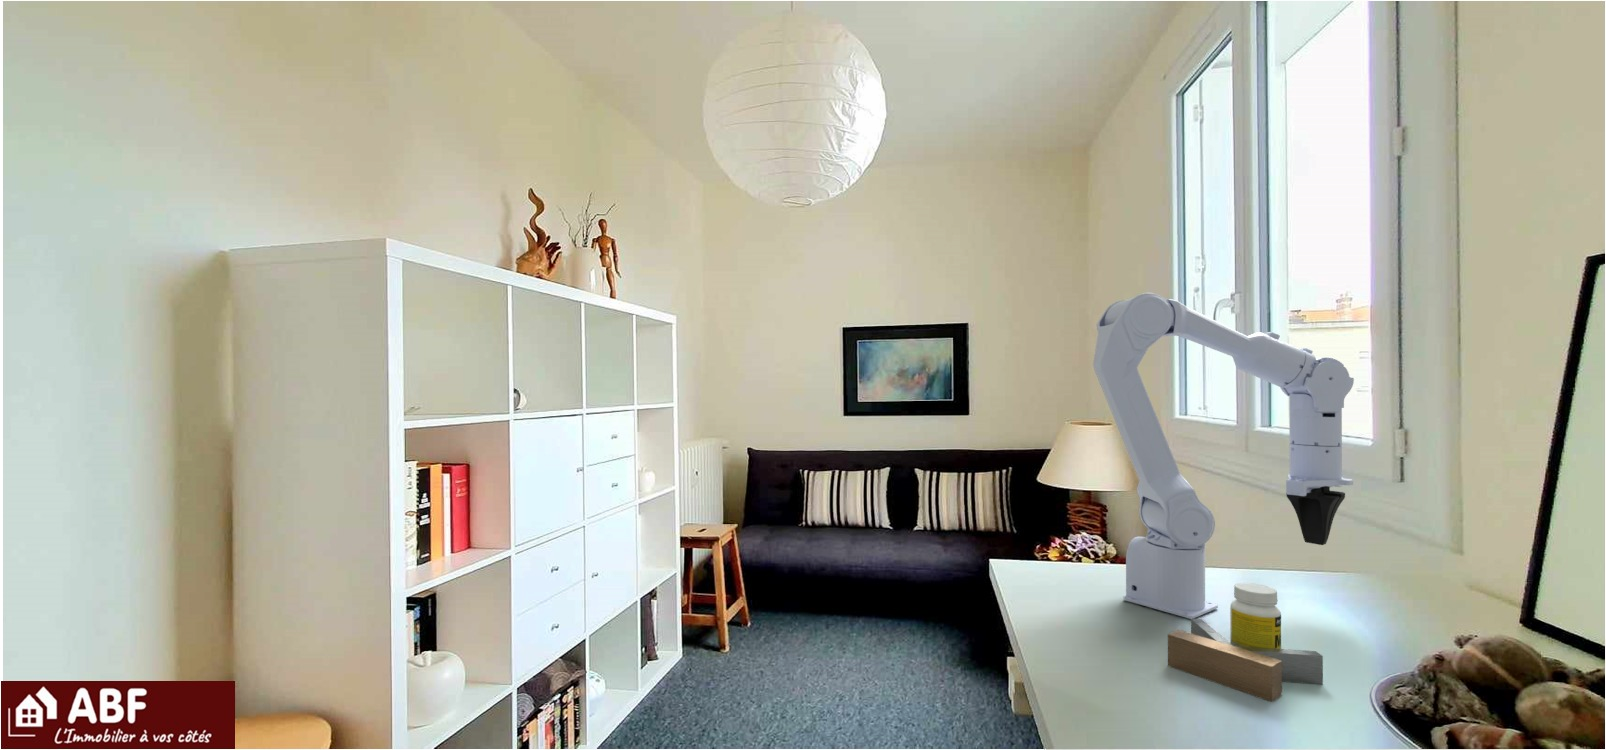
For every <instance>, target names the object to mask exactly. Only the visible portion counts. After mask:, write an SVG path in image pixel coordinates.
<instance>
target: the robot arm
mask: <svg viewBox="0 0 1606 750" xmlns="http://www.w3.org/2000/svg"><path fill="white" fill-rule="evenodd" d="M1096 330H1097V339H1096V345H1095V349H1094V357H1093V363H1092V364H1093V365H1092V366H1093V369H1094V373H1095V375H1096V378H1097V380H1098V382H1099V385H1100V388H1101V390H1102V392H1103V394H1104V398H1105V400H1106V402H1107V404H1108V407H1109V409H1110V411H1111V415H1112V417H1113V419H1114V422H1115V424H1116V427H1117V430H1118V432H1119V434H1120V436H1121V439H1122V441H1123V443H1124V446H1125V449H1126V451H1127V453H1128V456H1129V458H1130V462H1131V463H1132V465H1133V468H1134V470H1135V472H1136V475H1137V478H1138V483H1137V487H1136V493H1137V494H1138V497H1139V509H1138V510H1139V511H1138V513H1139V517H1140V519H1141V522H1142V524H1143V525H1144V526H1145V527H1146V528H1147V532H1146V535H1145V536H1146V537H1145V536H1135V537H1133V538H1132V539H1131V540H1130V542H1129V543H1128V547H1127V550H1126V552H1125V553H1126V555H1125V595H1124V596H1122V598H1123V600H1124V601H1127V602H1129V603H1133V604H1136V605H1141V606H1145V607H1147V608H1150V609H1154V610H1158V611H1161V612H1165V613H1168V614H1172V615H1176V616H1179V617H1183V618H1186V619H1189V620H1191V619H1197V618H1198V617H1200V616H1202V615H1205V614H1208V613H1209V612H1212V611H1213V610H1217V609H1218V608H1219V605H1218V604H1217V603H1214V602H1211V601H1210V602H1209V601H1206V543H1208V542H1209V541H1210V539H1211V538H1212V537H1213V535H1214V533H1215V527H1216V521H1215V517H1214V514H1213V513H1212V512H1211V510H1210V509H1209V508H1208V506H1206V505H1205V504H1204V503H1203V502H1201V500H1200V499H1199V497H1198V495H1197V493H1196V491H1195V489H1194V488H1193V487H1192V484H1190V483H1189V482H1188V481H1187V480H1186V478H1185V477H1184V476H1183V475H1182V474H1181V472H1180V469H1179V467H1178V465H1177V463H1176V460H1175V458H1174V455H1173V453H1172V450H1171V447H1170V445H1169V444H1168V441H1167V438H1166V436H1165V434H1164V431H1163V429H1162V427H1161V423H1160V422H1159V419H1158V417H1157V414H1156V412H1155V410H1154V406H1153V404H1152V402H1151V399H1150V397H1149V394H1148V392H1147V389H1146V387H1145V385H1144V382H1143V380H1142V378H1141V375H1140V373H1139V370H1138V367H1139V365H1140V363H1141V361H1142V360H1143V358H1144V356H1145V355H1146V353H1147V351H1148V350H1149V348H1150V347H1152V345H1154V344H1156V342H1157V341H1158V340H1160V339H1161V338H1163V337H1173V336H1175V337H1179V338H1182V339H1186V340H1187V341H1191V342H1193V343H1195V344H1196V343H1197V344H1199V345H1201V346H1204V347H1206V348H1209V349H1211V350H1214V351H1217V352H1220V353H1223V354H1225V355H1227V356H1230V357H1232V359H1233V362H1234V365H1235V367H1236V368H1237V369H1238V370H1240V371H1243V372H1244V373H1246V374H1249V375H1251V376H1254V377H1255V378H1259V379H1261V380H1264V381H1265V382H1268V383H1271V384H1272V385H1275V386H1277V387H1278V388H1280V389H1281V391H1282V392H1283V393H1284V395H1286V396H1287V397H1289V398H1288V399H1289V401H1288V402H1289V404H1288V405H1289V407H1288V408H1289V409H1288V410H1289V414H1288V415H1289V418H1288V419H1289V445H1288V446H1289V447H1288V448H1289V451H1288V452H1289V453H1288V454H1289V473H1288V474H1287V479H1286V480H1285V487H1286V488H1285V489H1286V490H1285V495H1286V498H1287V499H1288V501H1289V502H1290V504H1291V506H1292V507H1293V509H1294V512H1295V513H1296V516H1297V519H1298V523H1299V528H1300V530H1301V535H1302V538H1303V540H1304V542H1305V543H1308V544H1311V545H1312V544H1314V545H1319V546H1324V545H1326V544H1327V542H1328V540H1329V537H1330V536H1329V535H1330V532H1331V529H1332V525H1333V520H1334V518H1335V516H1336V513H1337V511H1338V509H1339V508H1340V506H1341V504H1342V503H1343V501H1344V499H1345V498H1346V492H1343V491H1337V490H1331V489H1330V488H1333V487H1337V488H1341V487H1343V486H1352V485H1354V480H1353V479H1352V478H1344V477H1343V454H1342V453H1343V452H1342V451H1343V447H1342V446H1343V431H1342V430H1343V420H1342V419H1343V418H1342V417H1343V411H1342V410H1343V408H1345V398H1346V396H1347V395H1348V394H1349V393H1350V392H1351V390H1352V388H1353V387H1354V382H1355V381H1354V380H1355V379H1354V377H1351V376H1350V374H1349V373H1350V372H1349V371H1348V369H1347V367H1345V365H1344V363H1342V362H1341V361H1340V360H1338V359H1335V358H1332V357H1315V354H1313V352H1314V351H1313V350H1312V349H1309V348H1308V347H1303V348H1298V347H1297V346H1294V345H1292V344H1289V343H1287V342H1285V341H1282V340H1280V339H1279V338H1280V334H1278V333H1276V332H1273V331H1269V332H1255V333H1252V334H1250V335H1248V336H1247V335H1246V334H1244V333H1241V332H1239V331H1237V330H1235V329H1233V328H1231V327H1229V326H1226V325H1225V324H1223V323H1221V322H1219V321H1217V320H1214V319H1212V318H1210V317H1208V316H1206V315H1204V314H1202V313H1199V312H1198V311H1196V310H1194V309H1191V308H1190V307H1188V306H1186V305H1185V304H1183V303H1181V302H1180V301H1179V300H1174V299H1171V298H1165V297H1164V296H1162V295H1160V294H1157V293H1155V292H1143V293H1141V294H1137V295H1136V296H1134V297H1131V298H1128V299H1122V300H1118V301H1115V302H1114V303H1112V304H1110V305H1109V306H1108V307H1107V308H1106V309H1105V311H1104V312H1103V314H1102V315H1101V317H1100V319H1098V322H1096Z"/></svg>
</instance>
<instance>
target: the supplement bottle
mask: <svg viewBox="0 0 1606 750" xmlns="http://www.w3.org/2000/svg"><path fill="white" fill-rule="evenodd" d="M1233 587H1234V588H1233V596H1234V600H1233V601H1231V603H1230V608H1229V609H1230V612H1229V613H1230V614H1229V615H1230V619H1229V620H1230V625H1229V626H1230V629H1229V630H1230V631H1229V632H1230V641H1229V643H1231V644H1232V645H1233V646H1245V647H1260V648H1275V649H1282V612H1281V610H1280V609H1279V608H1278V607H1277V604H1278V592H1277V590H1276V589H1275V588H1274V587H1271V586H1267V585H1265V584H1264V585H1263V584H1259V583H1251V582H1237V583H1235V584H1234V586H1233Z"/></svg>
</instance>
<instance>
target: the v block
mask: <svg viewBox="0 0 1606 750" xmlns="http://www.w3.org/2000/svg"><path fill="white" fill-rule="evenodd" d="M1323 658H1324V656H1323V655H1322V654H1320V653H1319V652H1318V651H1315V650H1302V649H1285V648H1281V649H1275V648H1260V647H1245V646H1233V645H1232V644H1231V643H1230V641H1229V640H1227V639H1226V638H1225V637H1223V636H1222V635H1221V634H1220V633H1219V632H1217V630H1215V629H1214V628H1213V627H1211V626H1210V625H1209V624H1208V623H1207V622H1206V621H1205V620H1204V619H1202V618H1193V619H1190V632H1188V631H1184V630H1181V629H1177V630H1174V631H1172V632H1169V633H1167V667H1170V668H1174V669H1176V670H1178V671H1182V672H1185V673H1187V674H1190V675H1193V676H1196V677H1198V678H1202V679H1205V680H1207V681H1211V682H1214V683H1216V684H1218V685H1222V686H1224V687H1228V688H1231V689H1232V690H1233V689H1234V690H1236V691H1239V692H1242V693H1243V694H1247V695H1251V696H1254V697H1256V698H1259V699H1262V700H1264V701H1267V702H1270V703H1273V702H1274V701H1276V700H1278V699H1279V698H1281V697H1282V696H1283V683H1295V684H1305V685H1306V684H1308V685H1321V686H1322V685H1323V684H1324V669H1323V668H1324V667H1323V666H1324V665H1323V664H1324V662H1323V660H1324V659H1323Z"/></svg>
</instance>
